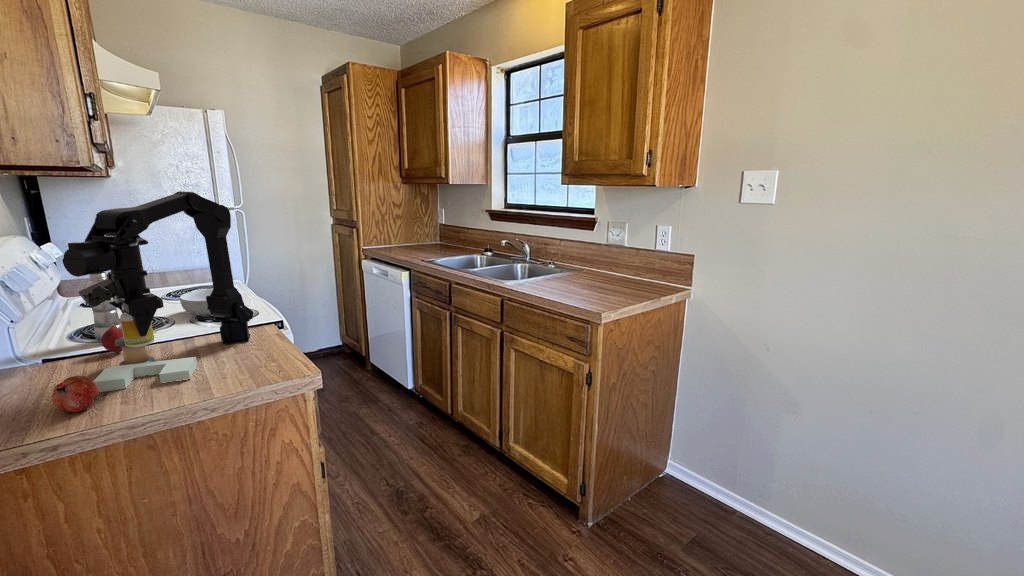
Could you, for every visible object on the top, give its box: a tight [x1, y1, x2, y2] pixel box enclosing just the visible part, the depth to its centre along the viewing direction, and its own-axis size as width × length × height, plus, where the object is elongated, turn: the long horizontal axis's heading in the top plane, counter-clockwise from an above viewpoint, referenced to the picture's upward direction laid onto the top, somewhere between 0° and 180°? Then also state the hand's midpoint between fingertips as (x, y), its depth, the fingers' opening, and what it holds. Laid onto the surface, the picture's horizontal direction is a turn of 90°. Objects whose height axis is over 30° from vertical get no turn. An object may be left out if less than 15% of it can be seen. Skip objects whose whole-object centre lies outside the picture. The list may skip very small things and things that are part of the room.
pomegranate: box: [51, 375, 100, 413], centre depth 96 cm, size 7×7×10 cm
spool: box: [115, 337, 156, 366], centre depth 118 cm, size 7×7×7 cm
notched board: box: [92, 356, 198, 393], centre depth 111 cm, size 18×9×2 cm, turn 114°
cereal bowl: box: [179, 287, 213, 317], centre depth 161 cm, size 17×17×7 cm
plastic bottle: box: [88, 271, 122, 343], centre depth 132 cm, size 6×7×20 cm
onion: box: [100, 325, 123, 354], centre depth 125 cm, size 6×6×8 cm
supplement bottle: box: [119, 304, 155, 347], centre depth 106 cm, size 5×5×10 cm
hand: (138, 333), depth 107 cm, fingers closed on supplement bottle, 5 cm apart
